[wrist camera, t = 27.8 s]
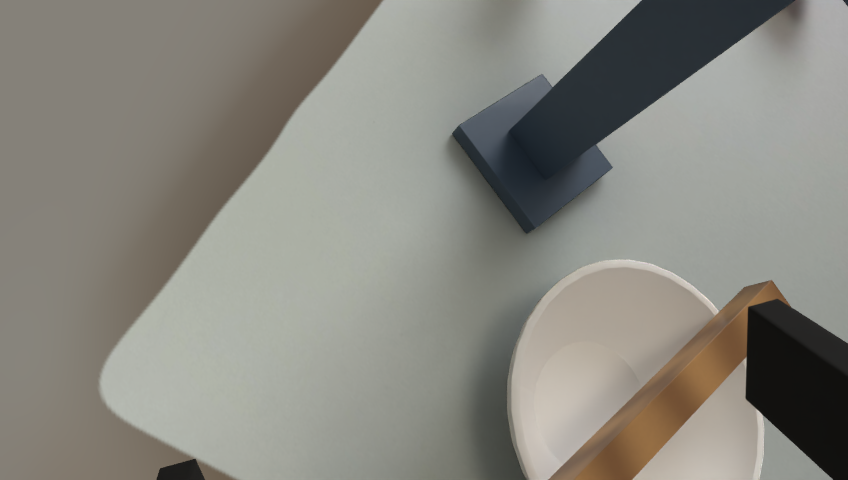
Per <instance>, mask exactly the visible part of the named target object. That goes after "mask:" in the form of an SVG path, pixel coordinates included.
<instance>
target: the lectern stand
mask: <svg viewBox="0 0 848 480" xmlns="http://www.w3.org/2000/svg"><path fill="white" fill-rule="evenodd" d="M794 1H795V0H642V1H641V2H640V3H639V4H638V5H637V6H635V7H634V8H633V9H632V10H631V11H630V12H629V13H628V14H627V15H626V16H625V17H624V18H623V19H622V20H621V21H620V22H619V23H618V24H617V25H616V26H615V27H614V28H613V29H612V30H611V31H610V32H609V33H608V34H607V35H606V36H605V37H604V38H603V39H602V40H601V41H600V42H599V43H598V44H597V45H596V46H595V47H594V48H593V49H592V50H591V51H590V52H589V53H588V54H586V55H585V56H584V57H583V58H582V59H581V60H580V61H579V62H578V63H577V64H576V65H575V66H574V67H573V68H572V69H571V70H570V71H569V72H568V73H567V74H566V75H565V76H564V77H563V78H562V79H561V80H560V81H559V82H558V83H557V84H556V85H555V86H554V87H552V86H551V85H550V83H549V82H548V81H547V79H546V78H545V77H544V75H543V74H541V75H539V76H538V77H536V78H535V79H533V80H531V81H530V82H528V83H526V84H525V85H523V86H522V87H520V88H518V89H517V90H515V91H514V92H512V93H510V94H509V95H507V96H505V97H504V98H502V99H501V100H499V101H497V102H496V103H494V104H492V105H491V106H489V107H488V108H486V109H484V110H483V111H481V112H480V113H478V114H476V115H475V116H473V117H471V118H470V119H468V120H467V121H465V122H463V123H462V124H460V125H459V126H458V127H457V128H456V129H455V131H454V132H453V133H452V134H453V135H454V137H455V138H456V139H457V141H458V142H459V143H460V145H461V146H462V148H463V149H464V150H465V152H466V153H467V154H468V156H469V157H470V158H471V160H472V161H473V162H474V164H475V165H476V166H477V168H478V169H479V170H480V172H481V173H482V174H483V176H484V177H485V178H486V180H487V181H488V183H489V184H490V185H491V187H492V188H493V189H494V191H495V192H496V193H497V195H498V196H499V197H500V199H501V200H502V201H503V203H504V204H505V205H506V207H507V208H508V209H509V211H510V212H511V213H512V215H513V216H514V218H515V219H516V220H517V222H518V223H519V224H520V226H521V227H522V228H523V230H524V231H525V232H526V233H529V232H530V231H532V230H534V229H535V228H537V227H538V226H539V225H541V224H542V223H543V222H544V221H546V220H547V219H548V218H549V217H551V216H552V215H553V214H555V213H556V212H557V211H558V210H560V209H561V208H562V207H563V206H565V205H566V204H567V203H569V202H570V201H571V200H572V199H574V198H575V197H576V196H578V195H579V194H580V193H581V192H583V191H584V190H585V189H586V188H588V187H589V186H590V185H592V184H593V183H594V182H595V181H597V180H598V179H599V178H600V177H602V176H603V175H604V174H606V173H607V172H608V171H609V170H611V169H612V168H613V167H612V166H611V164H610V163H609V162H608V160H607V159H606V158H605V156H604V155H603V154H602V152H601V151H600V150H599V148H598V147H597V146H596V144H597V143H599V142H600V141H601V140H603V139H604V138H605V137H607V136H608V135H610V134H611V133H612V132H614V131H615V130H617V129H618V128H619V127H621V126H622V125H623V124H625V123H626V122H628V121H629V120H630V119H632V118H633V117H634V116H636V115H637V114H639V113H640V112H641V111H643V110H644V109H646V108H647V107H648V106H650V105H651V104H652V103H654V102H655V101H657V100H658V99H659V98H661V97H662V96H664V95H665V94H666V93H668V92H669V91H670V90H672V89H673V88H675V87H676V86H677V85H679V84H680V83H682V82H683V81H684V80H686V79H687V78H688V77H690V76H691V75H693V74H694V73H695V72H697V71H698V70H699V69H701V68H702V67H704V66H705V65H706V64H708V63H709V62H711V61H712V60H713V59H715V58H716V57H717V56H719V55H720V54H722V53H723V52H724V51H726V50H727V49H729V48H730V47H731V46H733V45H734V44H735V43H737V42H738V41H740V40H741V39H742V38H744V37H745V36H747V35H748V34H749V33H751V32H752V31H753V30H755V29H756V28H758V27H759V26H760V25H762V24H763V23H764V22H766V21H767V20H769V19H770V18H771V17H773V16H774V15H776V14H777V13H778V12H780V11H781V10H782V9H784V8H785V7H787V6H788V5H789V4H791V3H792V2H794ZM843 1H844V2H845V3H846V5H847V6H848V0H843Z"/></svg>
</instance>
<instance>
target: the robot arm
mask: <svg viewBox="0 0 848 480" xmlns="http://www.w3.org/2000/svg"><path fill="white" fill-rule="evenodd" d="M745 399H746V400H747V401H748V402H749V403H750V404H752V405H753V406H754V407H755V408H756V409H757V410H758V411H759V412H760V413H761V414H762V415H763V416H765V417H766V418H767V419H768V420H769V421H770V422H771V423H772V424H773V425H774V426H775V427H777V428H778V429H779V430H780V431H781V432H782V433H783V434H784V435H785V436H786V437H787V438H789V439H790V440H791V441H792V442H793V443H794V444H795V445H796V446H797V447H798V448H799V449H800V450H802V451H803V452H804V453H805V454H806V455H807V456H808V457H809V458H810V459H811V460H812V461H814V462H815V463H816V464H817V465H818V466H819V467H820V468H821V469H822V470H823V471H824V472H826V473H827V474H828V475H829V476H830V477H831V478H832V479H833V480H848V343H846V342H845V341H843V340H841V339H840V338H838V337H837V336H835V335H834V334H832V333H831V332H829V331H827V330H826V329H824V328H823V327H821V326H820V325H818V324H816V323H815V322H813V321H812V320H810V319H809V318H807V317H805V316H804V315H802V314H801V313H799V312H798V311H796V310H795V309H793V308H791V307H790V306H788V305H787V304H785V303H784V302H782V301H780V300H779V299H775V300H771V301H767V302H764V303H760V304H756V305H753V306H749V307H748V323H747V359H746V396H745ZM157 480H205V479H204V477H203V475H202V473H201V470H200V468H199V466H198V464H197V462H196V459H193V460H190V461H186V462H182V463H178V464H175V465H171V466H167V467H164V468H160V470H159V473H158V477H157Z"/></svg>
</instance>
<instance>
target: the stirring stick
mask: <svg viewBox="0 0 848 480" xmlns="http://www.w3.org/2000/svg"><path fill="white" fill-rule="evenodd" d="M775 299H779V300H780V301H782V302H784V303H785V304H787V305H788V306H790V305H789V303H788V302H787V301H786V299H785V298H784V296H783V295H782V294H781V292H780V291H779V289H778V288H777V287H776V285H775V284H774V282H773V281H772V280H770V281H766V282H762V283H758V284H754V285H751V286H747V287H744V288H743V289H742V290H741V291H740V292H739V293H738V294H737V295H736V296H735V297H734V298H733V299H732V300H731V301H730V302H729V303H728V304H727V305H726V306H725V307H724V308H723V309H722V310H721V311H720V312H719V313H718V314H717V315H716V316H715V317H713V318H712V319H711V320H710V321H709V322H708V323H707V324H706V325H705V326H704V327H703V328H702V329H701V330H700V331H699V332H698V333H697V334H696V335H695V336H694V337H693V338H692V339H691V340H690V341H689V342H688V343H687V344H686V345H685V346H684V347H683V348H682V349H681V350H680V351H679V352H678V353H677V354H676V355H675V356H674V357H673V358H672V359H671V360H670V361H669V362H668V363H667V364H666V365H664V366H663V367H662V368H661V369H660V370H659V371H658V372H657V373H656V374H655V375H654V376H653V377H652V378H651V379H650V380H649V381H648V382H647V383H646V384H645V385H644V386H643V387H642V388H641V389H640V390H639V391H638V392H637V393H636V394H635V395H634V396H633V397H632V398H631V399H630V400H629V401H628V402H627V403H626V404H625V405H624V406H623V407H622V408H621V409H620V410H619V411H618V412H617V413H616V414H614V415H613V416H612V417H611V418H610V419H609V420H608V421H607V422H606V423H605V424H604V425H603V426H602V427H601V428H600V429H599V430H598V431H597V432H596V433H595V434H594V435H593V436H592V437H591V438H590V439H589V440H588V441H587V442H586V443H585V444H584V445H583V446H582V447H581V448H580V449H579V450H578V451H577V452H576V453H575V454H574V455H573V456H572V457H571V458H570V459H569V460H568V461H567V462H565V463H564V464H563V465H562V466H561V467H560V468H559V469H558V470H557V471H556V472H555V473H554V474H553V475H552V476H551V477H550V478H549V479H548V480H632V479H633V478H634V477H635V476H636V475H637V474H638V473H639V472H640V471H641V470H642V469H643V468H644V467H645V466H646V464H647V463H648V462H649V461H650V460H651V459H652V458H653V457H654V456H655V455H656V454H657V453H658V452H659V450H660V449H661V448H662V447H663V446H664V445H665V444H666V443H667V442H668V441H669V440H670V439H671V438H672V436H673V435H674V434H675V433H676V432H677V431H678V430H679V429H680V428H681V427H682V426H683V425H684V424H685V422H686V421H687V420H688V419H689V418H690V417H691V416H692V415H693V414H694V413H695V412H696V411H697V410H698V408H699V407H700V406H701V405H702V404H703V403H704V402H705V401H706V400H707V399H708V398H709V397H710V396H711V394H712V393H713V392H714V391H715V390H716V389H717V388H718V387H719V386H720V385H721V384H722V383H723V382H724V380H725V379H726V378H727V377H728V376H729V375H730V374H731V373H732V372H733V371H734V370H735V369H736V368H737V366H738V365H739V364H740V363H741V362H742V361H743V360H744V359H745V358H746V357H747V323H748V307H749V306H753V305H756V304H760V303H764V302H767V301H771V300H775ZM790 307H791V306H790Z"/></svg>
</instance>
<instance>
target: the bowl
mask: <svg viewBox="0 0 848 480" xmlns="http://www.w3.org/2000/svg"><path fill="white" fill-rule="evenodd" d="M718 313H719V311H718V310H717V309H716V307H715V306H714V305H713V304H712V303H711V301H709V300H708V299H707V298H706V297H705V296H704V295H703V294H702V293H700V292H699V291H698V290H697V289H696V288H695V287H694V286H693V285H691V284H690V283H688V282H686V281H685V280H683V279H682V278H680V277H678V276H677V275H675V274H674V273H672V272H670V271H668V270H665V269H662V268H660V267H657V266H655V265H652V264H650V263H645V262H639V261H633V260H627V259H623V260H607V261H600V262H597V263H594V264H591V265H588V266H584V267H581V268H579V269H578V270H576V271H574V272H573V273H571V274H569V275H568V276H566V277H564V278H563V279H561V280H560V281H559V282H558V283H556V284H555V285H554V286H553V287H552V288H551V289H550V290H549V291H548V292H547V293H546V294H545V295H544V296H543V297H542V298H541V299H540V300H539V301H538V303H537V304H536V306H535V307H534V309H533V311H532V312H531V314H530V315H529V317H528V318H527V320H526V321H525V323H524V325H523V327H522V330H521V332H520V335H519V337H518V340H517V343H516V345H515V348H514V350H513V353H512V358H511V363H510V368H509V374H508V379H507V415H508V421H509V427H510V433H511V439H512V443H513V446H514V449H515V452H516V455H517V458H518V461H519V464H520V467H521V470H522V472H523V474H524V476H525V477H526V479H527V480H548V479H549V478H550V477H551V476H552V475H553V474H554V473H555V472H556V471H557V470H558V469H559V468H560V467H561V466H562V465H563V464H564V463H565V462H567V461H568V460H569V459H570V458H571V457H572V456H573V455H574V454H575V453H576V452H577V451H578V450H579V449H580V448H581V447H582V446H583V445H584V444H585V443H586V442H587V441H588V440H589V439H590V438H591V437H592V436H593V435H594V434H595V433H596V432H597V431H598V430H599V429H600V428H601V427H602V426H603V425H604V424H605V423H606V422H607V421H608V420H609V419H610V418H611V417H612V416H613V415H614V414H616V413H617V412H618V411H619V410H620V409H621V408H622V407H623V406H624V405H625V404H626V403H627V402H628V401H629V400H630V399H631V398H632V397H633V396H634V395H635V394H636V393H637V392H638V391H639V390H640V389H641V388H642V387H643V386H644V385H645V384H646V383H647V382H648V381H649V380H650V379H651V378H652V377H653V376H654V375H655V374H656V373H657V372H658V371H659V370H660V369H661V368H662V367H663V366H664V365H666V364H667V363H668V362H669V361H670V360H671V359H672V358H673V357H674V356H675V355H676V354H677V353H678V352H679V351H680V350H681V349H682V348H683V347H684V346H685V345H686V344H687V343H688V342H689V341H690V340H691V339H692V338H693V337H694V336H695V335H696V334H697V333H698V332H699V331H700V330H701V329H702V328H703V327H704V326H705V325H706V324H707V323H708V322H709V321H710V320H711V319H712V318H713V317H715V316H716V315H717V314H718ZM746 359H747V357H746V358H745V359H744V360H743V361H742V362H741V363H740V364H739V365H738V366H737V368H736V369H735V370H734V371H733V372H732V373H731V374H730V375H729V376H728V377H727V378H726V379H725V380H724V382H723V383H722V384H721V385H720V386H719V387H718V388H717V389H716V390H715V391H714V392H713V393H712V394H711V396H710V397H709V398H708V399H707V400H706V401H705V402H704V403H703V404H702V405H701V406H700V407H699V408H698V410H697V411H696V412H695V413H694V414H693V415H692V416H691V417H690V418H689V419H688V420H687V421H686V422H685V424H684V425H683V426H682V427H681V428H680V429H679V430H678V431H677V432H676V433H675V434H674V435H673V436H672V438H671V439H670V440H669V441H668V442H667V443H666V444H665V445H664V446H663V447H662V448H661V449H660V450H659V452H658V453H657V454H656V455H655V456H654V457H653V458H652V459H651V460H650V461H649V462H648V463H647V464H646V466H645V467H644V468H643V469H642V470H641V471H640V472H639V473H638V474H637V475H636V476H635V477H634V478H633V479H632V480H759V478H760V473H761V467H762V462H763V453H764V423H763V415H762V414H761V413H760V412H759V411H758V410H757V409H756V408H755V407H754V406H753V405H752V404H750V403H749V402H748V401H747V400H746V399H745V396H746Z"/></svg>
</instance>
